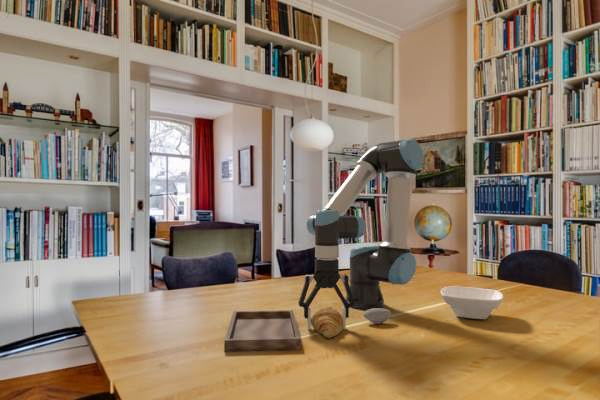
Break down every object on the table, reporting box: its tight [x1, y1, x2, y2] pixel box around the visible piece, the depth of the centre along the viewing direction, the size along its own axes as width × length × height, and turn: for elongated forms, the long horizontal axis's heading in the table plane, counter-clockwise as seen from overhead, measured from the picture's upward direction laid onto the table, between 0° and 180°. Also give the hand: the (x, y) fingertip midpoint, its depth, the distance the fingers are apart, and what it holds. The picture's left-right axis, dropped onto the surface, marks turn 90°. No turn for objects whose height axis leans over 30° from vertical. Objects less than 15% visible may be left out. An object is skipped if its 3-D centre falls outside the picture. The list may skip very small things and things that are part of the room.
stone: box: [362, 307, 392, 325], centre depth 132 cm, size 10×5×5 cm, turn 100°
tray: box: [223, 309, 302, 353], centre depth 120 cm, size 20×29×3 cm
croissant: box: [311, 307, 344, 339], centre depth 125 cm, size 21×10×8 cm, turn 179°
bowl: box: [440, 285, 504, 320], centre depth 141 cm, size 21×21×9 cm
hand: (326, 328), depth 125 cm, fingers open, 10 cm apart
